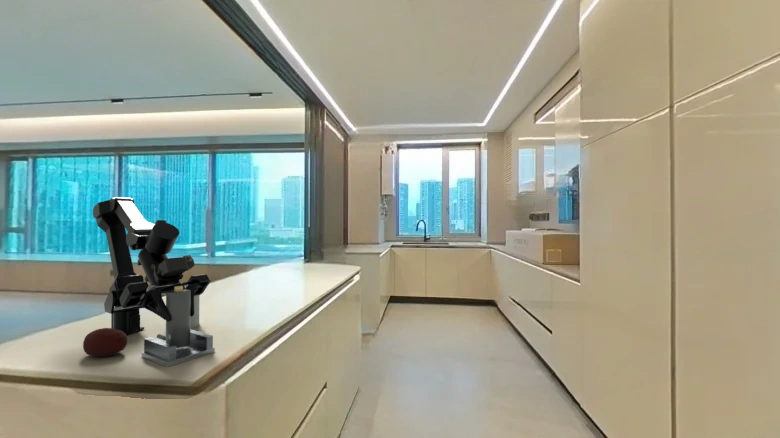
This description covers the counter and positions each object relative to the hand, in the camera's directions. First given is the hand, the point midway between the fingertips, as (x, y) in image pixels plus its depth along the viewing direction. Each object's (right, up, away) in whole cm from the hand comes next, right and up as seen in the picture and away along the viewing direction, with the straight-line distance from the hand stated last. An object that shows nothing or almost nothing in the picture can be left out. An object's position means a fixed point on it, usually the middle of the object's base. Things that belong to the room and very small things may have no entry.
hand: (181, 317), depth 87 cm
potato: (-18, -9, 0) cm, 20 cm away
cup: (-13, -9, +24) cm, 29 cm away
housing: (-1, -9, +1) cm, 9 cm away
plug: (-4, -7, +3) cm, 8 cm away
